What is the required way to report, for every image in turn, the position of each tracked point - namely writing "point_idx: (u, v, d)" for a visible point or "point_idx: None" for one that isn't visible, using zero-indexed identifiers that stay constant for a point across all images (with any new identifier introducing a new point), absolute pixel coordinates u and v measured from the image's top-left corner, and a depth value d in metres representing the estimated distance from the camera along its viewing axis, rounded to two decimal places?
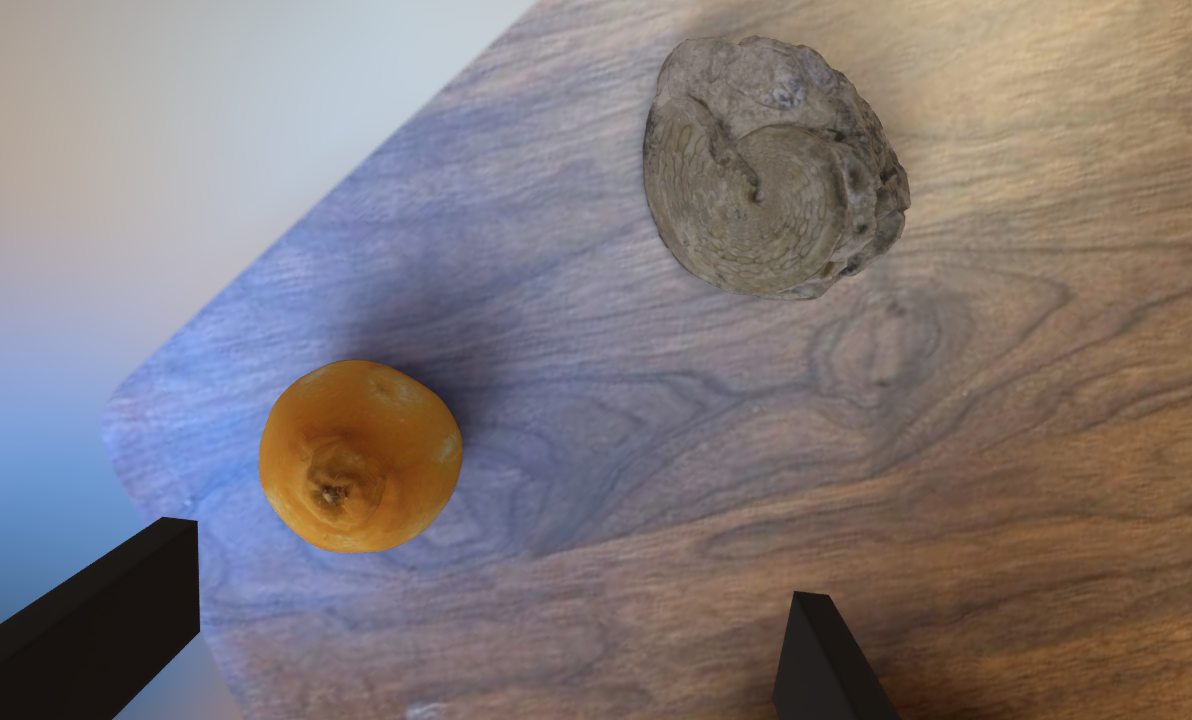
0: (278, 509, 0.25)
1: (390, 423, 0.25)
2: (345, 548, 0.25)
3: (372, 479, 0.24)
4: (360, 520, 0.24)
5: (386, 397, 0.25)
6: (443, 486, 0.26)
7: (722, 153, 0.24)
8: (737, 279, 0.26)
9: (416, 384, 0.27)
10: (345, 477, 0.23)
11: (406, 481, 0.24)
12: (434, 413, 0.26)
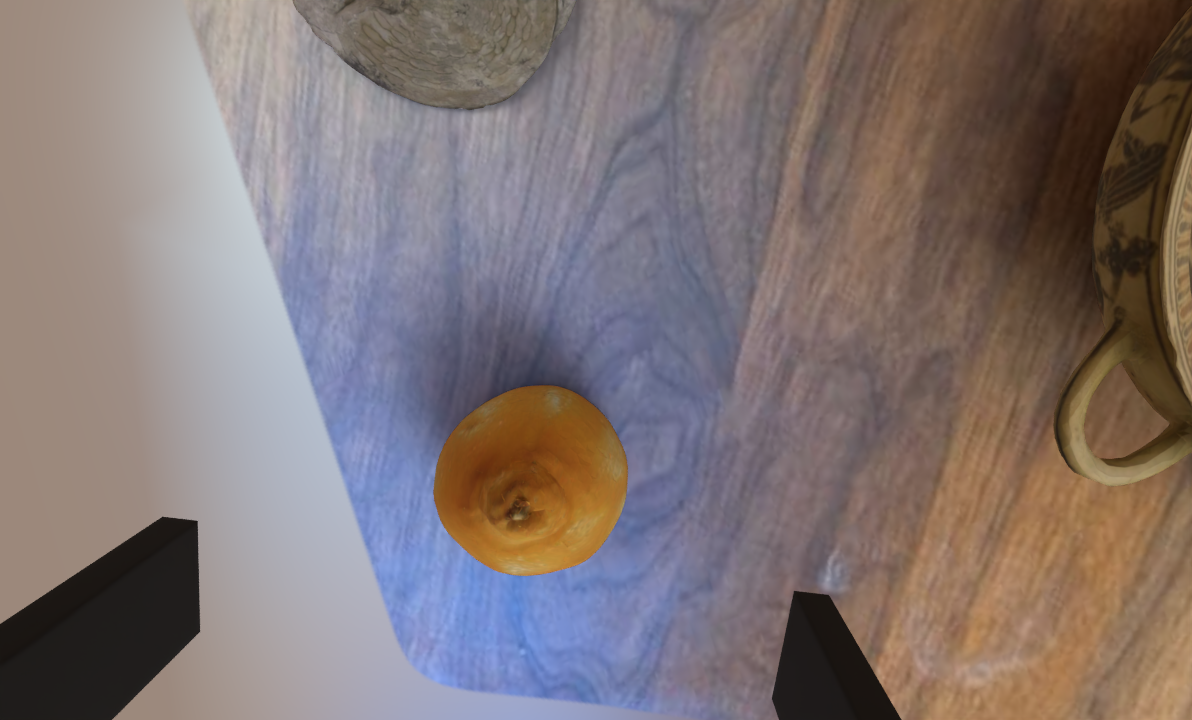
0: (523, 569, 0.25)
1: (495, 433, 0.25)
2: (588, 534, 0.25)
3: (526, 472, 0.23)
4: (560, 504, 0.24)
5: (477, 426, 0.26)
6: (585, 421, 0.26)
7: (397, 1, 0.24)
8: (530, 44, 0.24)
9: (491, 399, 0.27)
10: (508, 492, 0.23)
11: (550, 447, 0.24)
12: (518, 395, 0.26)
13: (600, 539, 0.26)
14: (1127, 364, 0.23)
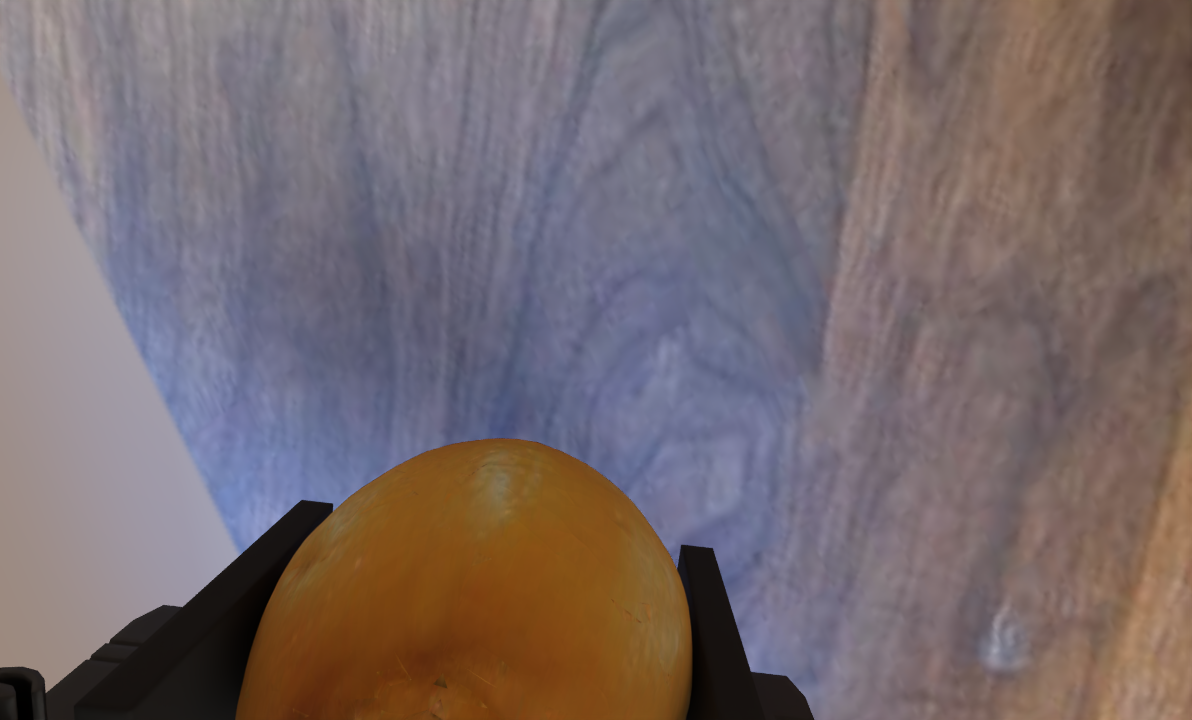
0: None
1: (342, 596, 0.09)
2: None
3: None
4: None
5: (311, 569, 0.10)
6: (576, 531, 0.10)
7: None
8: None
9: (365, 485, 0.12)
10: None
11: (483, 631, 0.09)
12: (413, 477, 0.11)
13: None
14: None
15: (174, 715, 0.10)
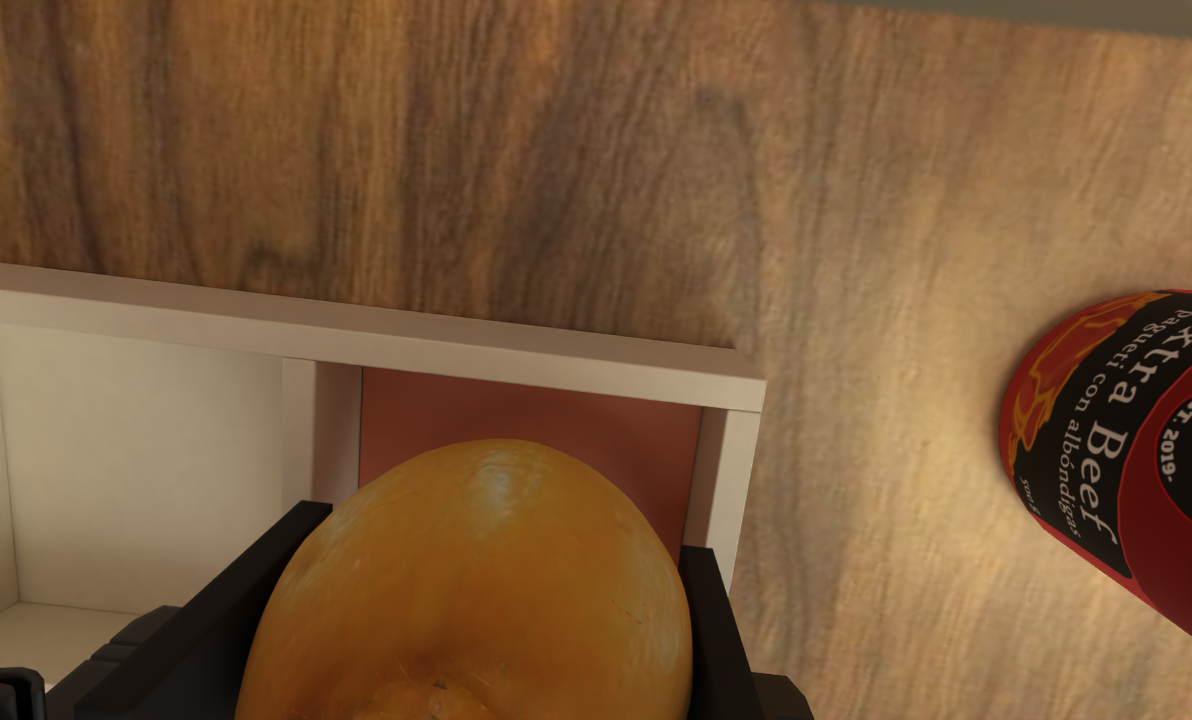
0: None
1: (340, 597, 0.09)
2: None
3: None
4: None
5: (311, 569, 0.10)
6: (576, 532, 0.10)
7: None
8: None
9: (364, 486, 0.12)
10: None
11: (483, 633, 0.09)
12: (412, 478, 0.11)
13: None
14: None
15: (174, 715, 0.10)
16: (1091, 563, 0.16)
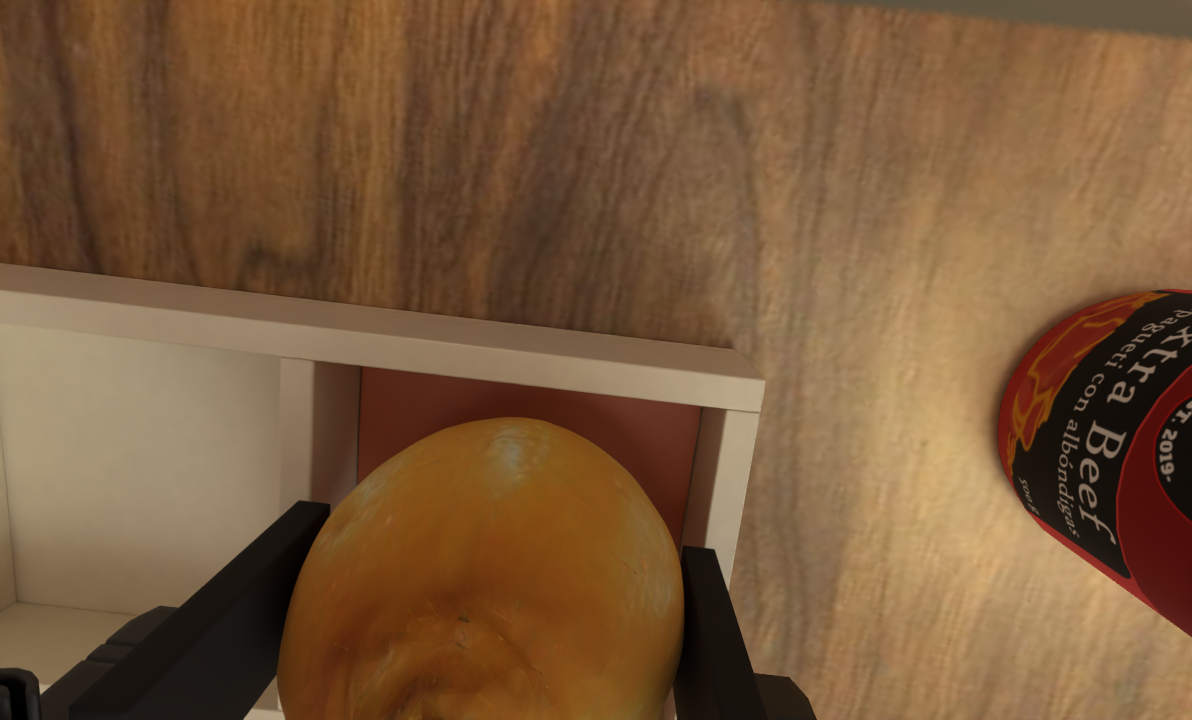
0: None
1: (375, 548, 0.11)
2: None
3: (442, 650, 0.09)
4: (536, 717, 0.10)
5: (347, 528, 0.12)
6: (580, 494, 0.12)
7: None
8: None
9: (390, 458, 0.13)
10: (397, 712, 0.09)
11: (500, 575, 0.10)
12: (435, 449, 0.12)
13: None
14: None
15: (169, 716, 0.10)
16: (1090, 563, 0.16)
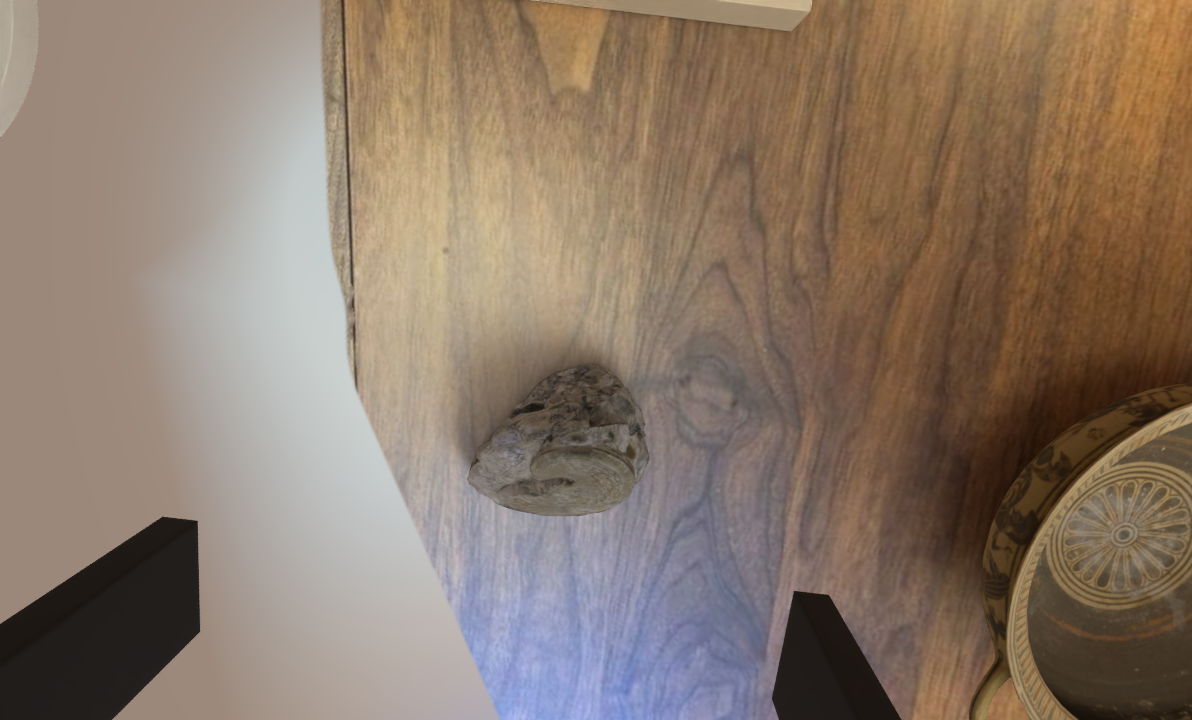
0: None
1: None
2: None
3: None
4: None
5: None
6: None
7: (537, 490, 0.38)
8: (618, 497, 0.39)
9: None
10: None
11: None
12: None
13: None
14: None
15: None
16: None
